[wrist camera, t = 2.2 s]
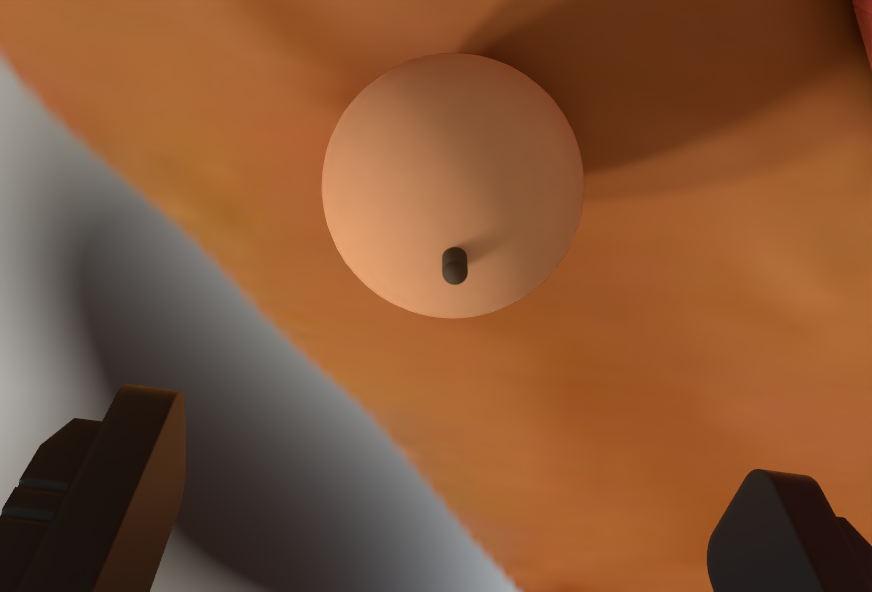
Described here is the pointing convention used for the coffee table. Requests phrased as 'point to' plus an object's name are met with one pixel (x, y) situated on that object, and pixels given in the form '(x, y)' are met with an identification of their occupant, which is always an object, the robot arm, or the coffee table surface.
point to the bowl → (865, 23)
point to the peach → (453, 185)
